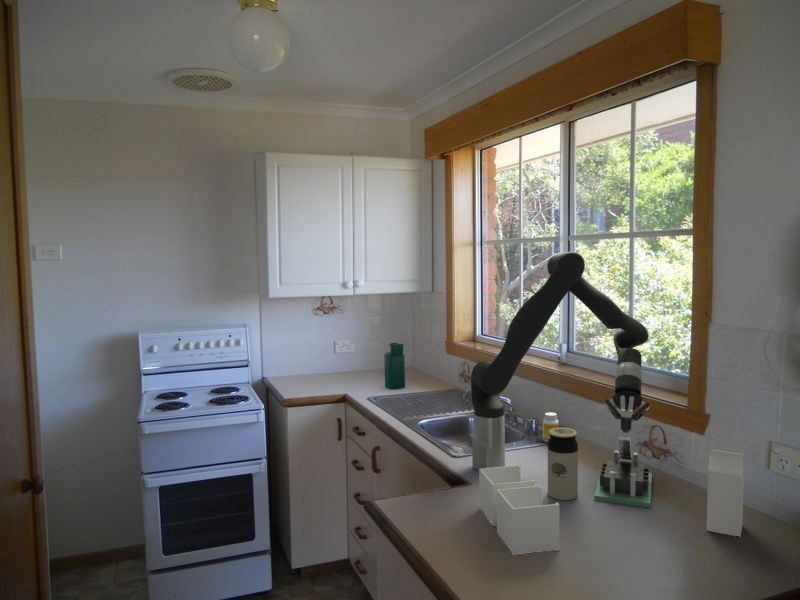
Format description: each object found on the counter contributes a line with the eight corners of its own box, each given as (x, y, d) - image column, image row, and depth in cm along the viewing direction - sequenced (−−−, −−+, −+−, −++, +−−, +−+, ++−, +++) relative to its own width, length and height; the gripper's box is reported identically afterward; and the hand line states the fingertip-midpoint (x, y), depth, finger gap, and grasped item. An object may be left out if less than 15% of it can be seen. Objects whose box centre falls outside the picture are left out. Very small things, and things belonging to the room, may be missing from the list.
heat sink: (647, 499, 161) (647, 475, 160) (598, 493, 166) (598, 469, 165) (648, 476, 177) (649, 454, 176) (603, 470, 181) (604, 449, 181)
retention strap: (620, 460, 178) (620, 456, 179) (631, 461, 177) (631, 458, 178) (618, 439, 166) (618, 436, 167) (629, 440, 165) (630, 437, 166)
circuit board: (650, 507, 159) (650, 503, 159) (594, 499, 164) (594, 495, 164) (651, 477, 179) (651, 473, 179) (601, 471, 184) (601, 467, 184)
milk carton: (740, 538, 142) (743, 459, 140) (706, 531, 145) (708, 453, 144) (742, 525, 148) (744, 449, 146) (709, 519, 151) (711, 445, 150)
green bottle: (383, 386, 300) (382, 342, 298) (399, 384, 303) (398, 340, 301) (391, 390, 291) (390, 345, 289) (407, 388, 294) (406, 343, 292)
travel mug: (557, 486, 173) (557, 425, 172) (583, 494, 168) (583, 431, 166) (542, 495, 168) (542, 431, 166) (568, 503, 162) (568, 438, 161)
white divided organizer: (479, 508, 161) (479, 468, 160) (519, 504, 163) (518, 465, 162) (513, 556, 136) (513, 509, 135) (559, 550, 138) (559, 504, 137)
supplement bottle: (541, 438, 216) (541, 411, 215) (556, 437, 216) (556, 411, 215) (545, 443, 211) (545, 416, 210) (560, 442, 211) (560, 415, 210)
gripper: (604, 372, 185) (600, 422, 175) (651, 374, 180) (650, 427, 170) (606, 385, 190) (602, 435, 180) (651, 388, 185) (650, 440, 175)
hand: (625, 431), depth 175 cm, fingers closed
